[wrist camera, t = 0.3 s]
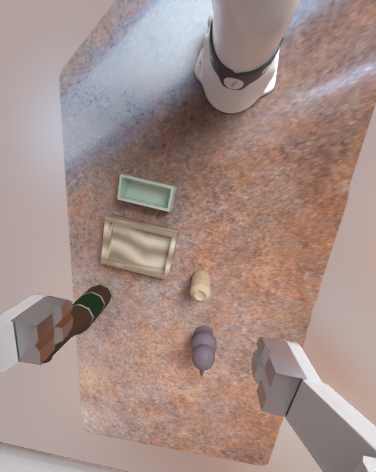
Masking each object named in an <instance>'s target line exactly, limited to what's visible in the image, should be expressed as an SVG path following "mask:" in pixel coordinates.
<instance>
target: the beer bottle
mask: <svg viewBox="0 0 376 472" xmlns="http://www.w3.org/2000/svg"><path fill="white" fill-rule="evenodd" d="M110 298H111V294H110V292H109V290H108V288H105V287H103V286H101V285H98V286H95V287H92V288H90V289H89V290H88V291H87V292H86V293H85V294H84V295H82V296H81V297H80V298H79V299H78V300H77V301H76V302H75V303H74V304H73V309H72V310H71V311H70V314H71V315H72V316H73V325H72V328H71V330H70V332H69V334H68V335H67V337H66V338H65V339H64V340H63V341H61V342H59V343H57V344H55V350H54V351H53V352H52V353H51V354H50V355H49V357H48V358H47V359H46V360H45V361H44V362H43V363H47V362H49V361H50V360H51V359H52V356H53V355H54V354H55V353H56V352H57V351H58V350H59V349H60V348H61V347H62V346H63V345H64V344H65V343H66V342H67V341H68V340H69V339H70V338H71V337H73V336H74V335H77V334H80V333H82V332H84V331H86V330H87V329H88V328H89V327H90V325H91V324H92V323H93V322H94V321H95V319H96V318H97V317H98V316H99V314H100V313H101V312H102V311H103V309H104V308H105V307H106V306H107V304H108V303H109V300H110Z"/></svg>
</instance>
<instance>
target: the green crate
mask: <svg viewBox="0 0 376 472" xmlns="http://www.w3.org/2000/svg"><path fill="white" fill-rule="evenodd" d="M176 189H177V187H176V186H172V185H168V184H164V183H159V182H155V181H151V180H147V179H143V178H138V177H134V176H130V175H124V174H120V178H119V187H118V196H117V199H118V200H122V201H126V202H130V203H134V204H138V205H143V206H147V207H151V208H155V209H159V210H163V211H167V212H170V211H171V210H172V209H173V204H174V199H175V194H176Z"/></svg>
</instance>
